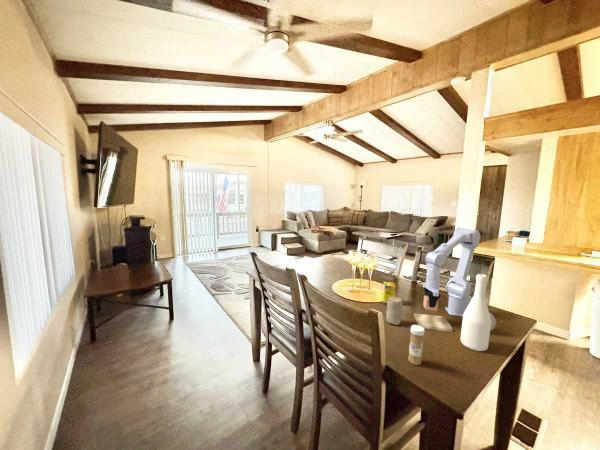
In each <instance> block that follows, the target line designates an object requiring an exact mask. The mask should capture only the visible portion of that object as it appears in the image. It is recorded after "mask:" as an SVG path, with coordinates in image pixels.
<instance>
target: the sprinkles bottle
mask: <svg viewBox="0 0 600 450" xmlns="http://www.w3.org/2000/svg"><path fill="white" fill-rule="evenodd" d="M424 335H425V328H423V327H421V326H419V325H418V324H412V325H411V326H410V340H409V346H408V348H409V349H408V351H409V352H408V358H407V359H408V361H409V363H411V364H412V365H414V366H415V365H416V366H419V365H421V364H422V356H423V347H424V337H425V336H424Z"/></svg>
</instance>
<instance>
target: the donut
mask: <svg viewBox="0 0 600 450" xmlns="http://www.w3.org/2000/svg"><path fill="white" fill-rule="evenodd" d="M489 314H490V318H491V328H490V332H491V331H492V330H494V329H495V327H496V326H497V320H496V318H495V316H494V315H493V314H492V313H491V312H489Z"/></svg>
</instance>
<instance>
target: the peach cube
mask: <svg viewBox="0 0 600 450" xmlns="http://www.w3.org/2000/svg"><path fill="white" fill-rule="evenodd" d="M422 305H423V307H424V309H425V310H427V311H434V312H437V311H438V306H439V300H438V301H437V303H436V306H435V308H432V307H430V306H429V298H428V296H426V295H424V296H423V303H422Z"/></svg>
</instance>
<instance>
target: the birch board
mask: <svg viewBox="0 0 600 450" xmlns="http://www.w3.org/2000/svg"><path fill="white" fill-rule="evenodd" d="M413 316H414V319H415V321H416V323H417V324H416V325H419V326H421V327H423V328H424V330H425V329H426V330H433V331H444V332H452V333H453V332H454V329H453V327H452V326H451V324H450V323H449V322H448V320H447V319H446V317H445V316H442V315H432V314H422V313H413Z"/></svg>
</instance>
